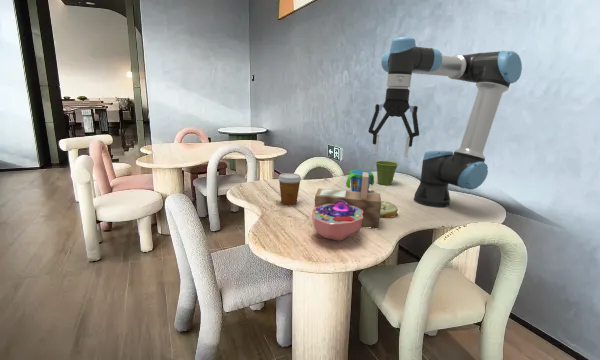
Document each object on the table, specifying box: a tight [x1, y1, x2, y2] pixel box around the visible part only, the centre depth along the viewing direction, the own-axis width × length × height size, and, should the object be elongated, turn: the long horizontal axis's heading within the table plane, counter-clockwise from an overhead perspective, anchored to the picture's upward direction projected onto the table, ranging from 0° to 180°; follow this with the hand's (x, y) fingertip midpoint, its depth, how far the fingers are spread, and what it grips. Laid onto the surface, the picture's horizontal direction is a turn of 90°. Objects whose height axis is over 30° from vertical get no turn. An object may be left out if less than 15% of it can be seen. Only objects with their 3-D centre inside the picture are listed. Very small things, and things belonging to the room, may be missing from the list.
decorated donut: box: [380, 200, 399, 218], centre depth 139 cm, size 11×12×4 cm
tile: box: [361, 172, 369, 199], centre depth 125 cm, size 2×7×8 cm, turn 170°
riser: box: [314, 188, 382, 229], centre depth 128 cm, size 23×10×10 cm, turn 80°
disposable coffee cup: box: [277, 172, 302, 207], centre depth 145 cm, size 10×10×12 cm
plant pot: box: [374, 160, 399, 186], centre depth 183 cm, size 12×12×11 cm
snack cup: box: [345, 169, 375, 193], centre depth 164 cm, size 16×10×10 cm
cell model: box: [311, 201, 363, 242], centre depth 114 cm, size 17×20×11 cm
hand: (390, 154), depth 121 cm, fingers open, 9 cm apart
